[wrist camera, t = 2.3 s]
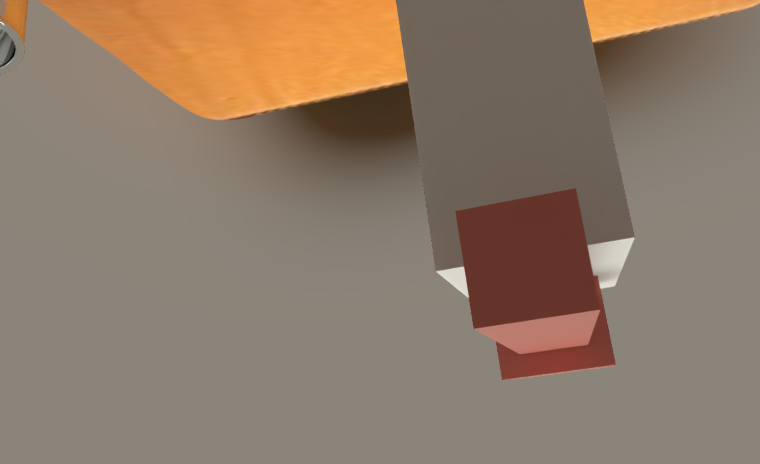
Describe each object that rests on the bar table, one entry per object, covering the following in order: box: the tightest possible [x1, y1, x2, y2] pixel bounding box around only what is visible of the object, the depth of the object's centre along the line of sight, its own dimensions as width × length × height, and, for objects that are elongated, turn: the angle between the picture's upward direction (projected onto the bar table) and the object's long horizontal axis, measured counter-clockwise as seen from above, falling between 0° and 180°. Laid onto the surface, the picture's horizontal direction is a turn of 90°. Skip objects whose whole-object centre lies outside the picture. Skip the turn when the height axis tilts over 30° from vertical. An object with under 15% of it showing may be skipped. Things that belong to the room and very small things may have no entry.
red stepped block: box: [455, 188, 615, 380], centre depth 26 cm, size 19×5×4 cm, turn 15°
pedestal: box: [396, 0, 635, 298], centre depth 35 cm, size 13×7×26 cm, turn 15°
